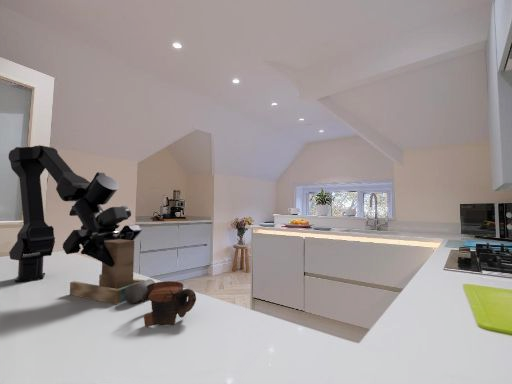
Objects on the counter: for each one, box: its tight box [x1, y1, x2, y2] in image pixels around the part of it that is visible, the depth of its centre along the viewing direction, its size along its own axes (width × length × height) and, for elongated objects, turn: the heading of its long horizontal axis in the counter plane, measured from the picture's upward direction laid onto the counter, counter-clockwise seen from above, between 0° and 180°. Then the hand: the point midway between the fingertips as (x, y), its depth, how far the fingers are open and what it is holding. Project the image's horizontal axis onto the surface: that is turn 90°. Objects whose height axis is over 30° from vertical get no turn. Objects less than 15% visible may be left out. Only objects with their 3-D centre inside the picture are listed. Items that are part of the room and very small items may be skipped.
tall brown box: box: [101, 239, 135, 289], centre depth 68 cm, size 5×5×12 cm
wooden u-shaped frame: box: [69, 273, 156, 305], centre depth 68 cm, size 20×9×4 cm, turn 68°
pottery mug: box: [142, 280, 197, 327], centre depth 56 cm, size 12×10×8 cm
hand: (122, 263), depth 68 cm, fingers closed on tall brown box, 5 cm apart
